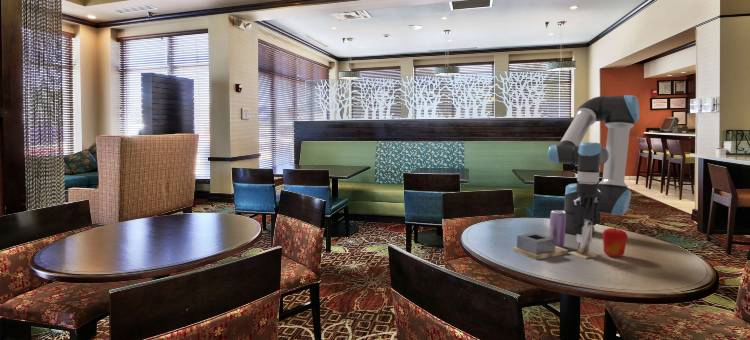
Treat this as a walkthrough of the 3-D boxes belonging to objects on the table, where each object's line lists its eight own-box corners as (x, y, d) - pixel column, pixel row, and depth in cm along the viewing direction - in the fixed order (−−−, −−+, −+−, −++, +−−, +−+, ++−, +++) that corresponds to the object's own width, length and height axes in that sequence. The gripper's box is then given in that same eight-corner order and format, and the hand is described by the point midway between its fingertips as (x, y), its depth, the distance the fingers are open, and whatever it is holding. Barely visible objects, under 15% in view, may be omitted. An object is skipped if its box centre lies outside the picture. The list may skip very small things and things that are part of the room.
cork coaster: (581, 251, 167) (581, 249, 166) (597, 256, 160) (597, 254, 160) (569, 253, 164) (569, 252, 163) (585, 258, 157) (585, 257, 157)
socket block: (535, 244, 171) (535, 232, 170) (554, 251, 162) (555, 238, 161) (516, 247, 167) (517, 235, 166) (536, 254, 158) (536, 241, 157)
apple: (630, 259, 157) (632, 229, 156) (608, 259, 157) (610, 228, 156) (618, 252, 165) (620, 223, 164) (597, 252, 166) (598, 223, 164)
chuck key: (593, 252, 160) (595, 221, 159) (586, 253, 158) (588, 222, 157) (580, 248, 165) (582, 218, 164) (573, 249, 163) (575, 219, 162)
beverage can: (565, 249, 170) (567, 213, 168) (550, 248, 171) (552, 212, 169) (562, 245, 175) (564, 210, 174) (547, 244, 177) (549, 209, 175)
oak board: (543, 245, 174) (543, 242, 174) (567, 253, 164) (567, 249, 164) (513, 250, 167) (513, 247, 167) (536, 259, 156) (536, 255, 156)
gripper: (593, 180, 166) (589, 236, 168) (564, 182, 158) (560, 241, 161) (611, 182, 159) (607, 241, 162) (581, 185, 152) (577, 246, 154)
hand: (584, 241), depth 161 cm, fingers closed on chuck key, 4 cm apart
